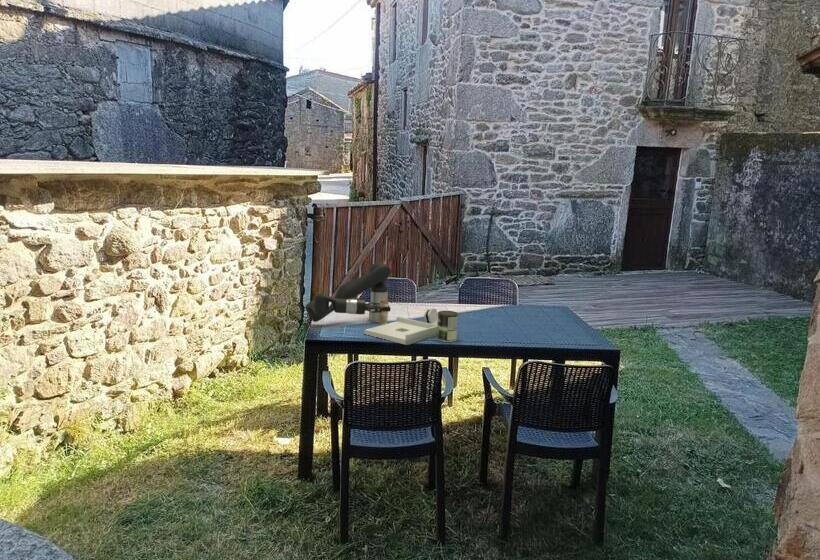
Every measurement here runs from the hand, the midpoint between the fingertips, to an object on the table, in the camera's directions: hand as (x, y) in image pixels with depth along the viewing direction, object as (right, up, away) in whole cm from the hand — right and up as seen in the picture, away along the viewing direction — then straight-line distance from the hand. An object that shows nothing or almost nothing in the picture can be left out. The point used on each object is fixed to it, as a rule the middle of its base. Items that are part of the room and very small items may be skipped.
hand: (389, 308), depth 315 cm
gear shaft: (-3, -8, +1) cm, 8 cm away
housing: (+6, -15, +17) cm, 23 cm away
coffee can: (+29, -17, +11) cm, 35 cm away
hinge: (+23, -11, +41) cm, 48 cm away
